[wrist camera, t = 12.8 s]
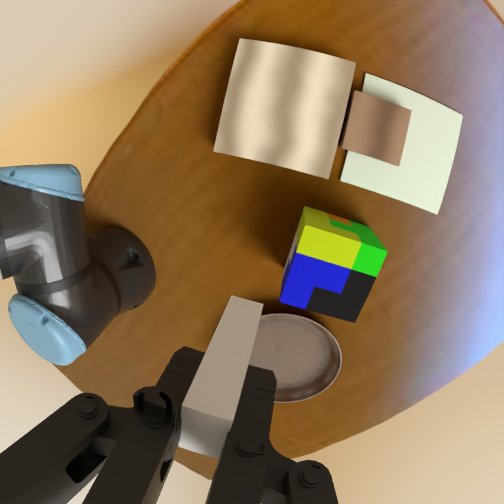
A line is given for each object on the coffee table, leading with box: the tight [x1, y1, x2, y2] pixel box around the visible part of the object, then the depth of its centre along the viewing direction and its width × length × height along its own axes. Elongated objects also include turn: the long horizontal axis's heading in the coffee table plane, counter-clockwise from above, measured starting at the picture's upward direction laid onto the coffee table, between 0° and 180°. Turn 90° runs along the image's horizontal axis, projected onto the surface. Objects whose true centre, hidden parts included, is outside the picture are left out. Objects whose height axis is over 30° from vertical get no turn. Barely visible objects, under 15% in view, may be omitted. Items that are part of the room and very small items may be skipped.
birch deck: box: [213, 38, 356, 179], centre depth 34 cm, size 15×16×4 cm
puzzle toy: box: [279, 206, 388, 323], centre depth 38 cm, size 10×10×10 cm
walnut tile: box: [340, 90, 412, 166], centre depth 33 cm, size 8×8×2 cm
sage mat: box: [340, 73, 463, 214], centre depth 35 cm, size 16×16×1 cm
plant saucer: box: [248, 313, 342, 402], centre depth 49 cm, size 21×21×3 cm
